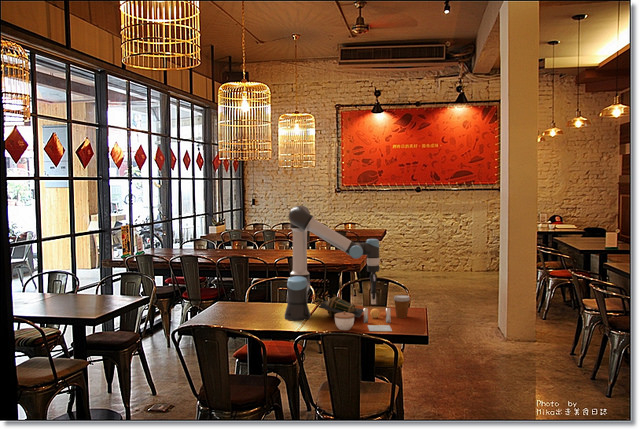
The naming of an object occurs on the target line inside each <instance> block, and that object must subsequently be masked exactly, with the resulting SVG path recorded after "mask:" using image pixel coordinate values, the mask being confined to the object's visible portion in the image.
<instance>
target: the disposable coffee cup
mask: <svg viewBox="0 0 640 430" xmlns="http://www.w3.org/2000/svg"><path fill="white" fill-rule="evenodd" d="M410 300H411V297H410V296H409V295H404V294H396V295H394V298H393V301H394V307H395V316H396V318H398V317H399V319H404V318H407V317H408V312H409V304H410Z"/></svg>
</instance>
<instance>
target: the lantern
mask: <svg viewBox="0 0 640 430" xmlns="http://www.w3.org/2000/svg"><path fill="white" fill-rule="evenodd" d="M316 301H320V302H318V303H316ZM312 303H313V304H314V305H315V306H318V305H319V306H318V309H319V308H320V309H323V310H325V311H327V314H328V315H327V318H328V317H331V318H335V314H336V313H342V312H344V311H345V312H346V313H352V314H354V318H361V316H362V315H363V314H364V308H363V309H362V308H359V307H357V305H356V304H353V303H350V302H348V301H346V300H344V299H343V298H340V297H339V296H337V295H336V294H333V296H332V297H331V298H329V297H328V300H326V299H325V300H324V299H321V298H320V299H318V298H317V299H315V300H314V301H313V302H312Z"/></svg>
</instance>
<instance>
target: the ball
mask: <svg viewBox="0 0 640 430" xmlns="http://www.w3.org/2000/svg"><path fill="white" fill-rule="evenodd" d="M369 313H370V317H371V318H373V319H378V318H379V317H380V314H381V313H380V310H379V309H378V308H372V309H371V310H370V312H369Z"/></svg>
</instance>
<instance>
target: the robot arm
mask: <svg viewBox="0 0 640 430" xmlns="http://www.w3.org/2000/svg"><path fill="white" fill-rule="evenodd" d="M288 220H289V224H290V225H289V226H290V227H289V228H290V230H291V231H292V271H291V272H290V273H289V276H290V277H288V278H287V283H286V286H287V287H286V289H287V293H286V294H287V295H286V296H287V297H286V298H287V299H286V300H287V306H286V308H285V312H284V316H283V317H284V319H285V320H288V321H295V322H296V321H298V322H299V321H300V322H301V321H307V320H310V319H311V311H310V309H309V304H308V292H309V290H310V288H311V281H310V272H309V271H308V232H310V233H311V234H313V235H315V236H317V237H318V238H320V239H322V240H324V241H326V242H327V243H328V244H330V245H332V246H333V247H335V248H337V249H339V250H340V251H341V252H344V253H346V255H347V256H350V257H351V258H352V259H355V260H357V259H360V258H361V257H362V256H366V264H367V265H366V271H367V272H368V273H370V274H369V281H370V293H369V294H370V297H371V298H370V299H371V300H370V302H371V305H377V282H378V281H377V280H378V279H377V278H378V275H377V274H376V273H379V272H380V261H381V258H380V240H379V239H377V238H368V239H366V241H365V242H354V241H352V240H350V239H348V238H347V237H345V236H344V235H342V234H341V233H339V232H337V231H336V230H333V229H332V228H330V227H328V226H327V225H325V224H324V223H322V222H320V221H318V220H316V219H315V217H314V215H312V214H311V211H310V210H309V208H308V207H306V206H304V205H296V206H294V207H292V208H291V209H290V210H289V211H288Z"/></svg>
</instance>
